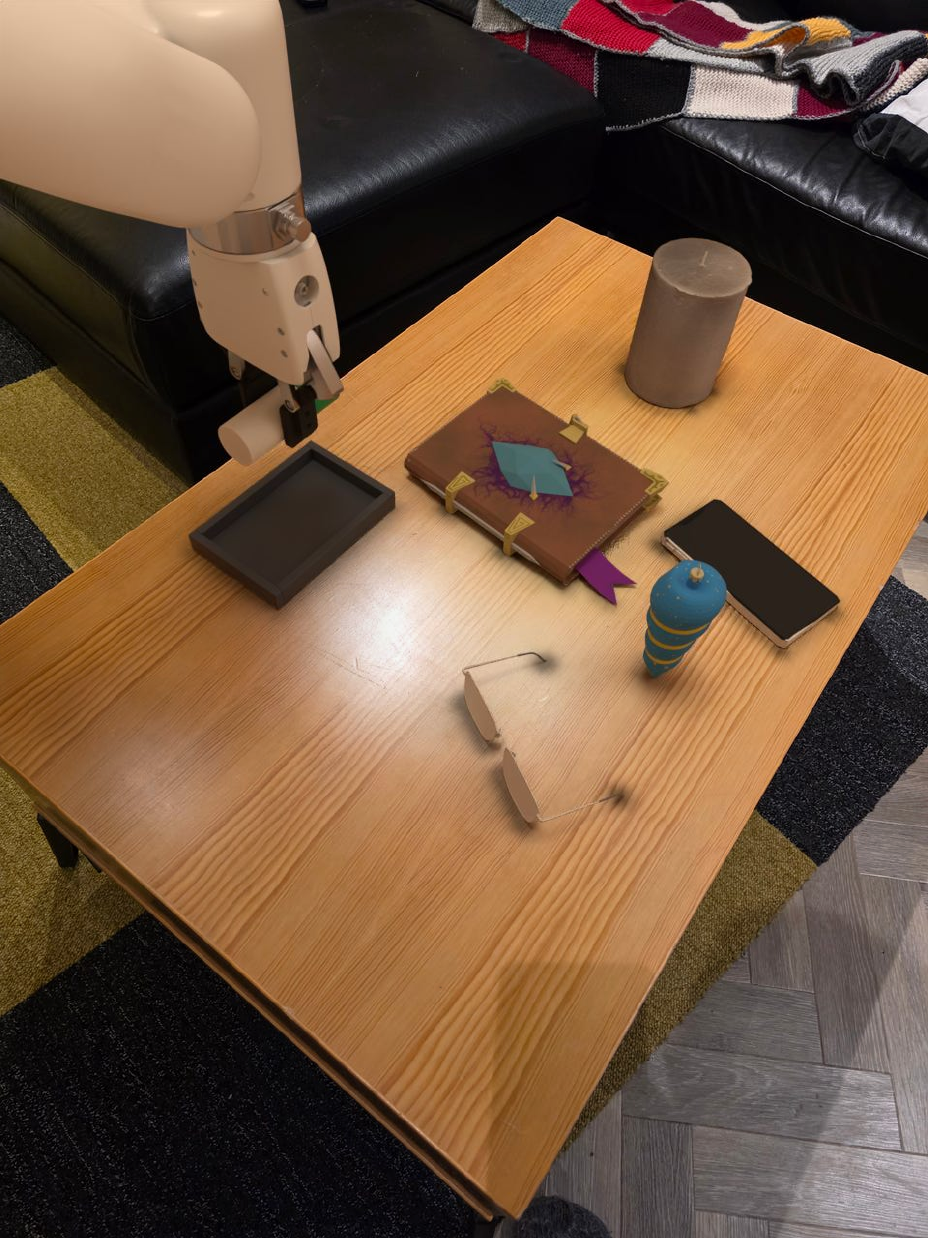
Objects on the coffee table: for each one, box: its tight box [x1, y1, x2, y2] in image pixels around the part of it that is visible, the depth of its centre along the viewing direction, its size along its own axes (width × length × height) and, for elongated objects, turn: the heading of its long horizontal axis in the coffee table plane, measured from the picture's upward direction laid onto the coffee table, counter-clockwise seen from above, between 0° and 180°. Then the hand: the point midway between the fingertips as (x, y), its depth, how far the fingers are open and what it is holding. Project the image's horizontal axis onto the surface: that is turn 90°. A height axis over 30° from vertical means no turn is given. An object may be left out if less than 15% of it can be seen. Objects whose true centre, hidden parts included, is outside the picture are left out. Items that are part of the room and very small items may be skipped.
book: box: [403, 377, 670, 606], centre depth 82 cm, size 16×25×5 cm, turn 47°
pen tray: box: [188, 439, 396, 611], centre depth 80 cm, size 16×11×2 cm
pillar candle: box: [624, 237, 753, 409], centre depth 89 cm, size 10×10×15 cm
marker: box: [217, 384, 341, 467], centre depth 70 cm, size 10×4×4 cm, turn 142°
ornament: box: [642, 560, 727, 679], centre depth 67 cm, size 5×5×15 cm
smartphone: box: [660, 498, 841, 649], centre depth 80 cm, size 8×1×15 cm
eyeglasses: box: [461, 651, 625, 824], centre depth 68 cm, size 14×8×4 cm, turn 24°
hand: (282, 423), depth 70 cm, fingers closed on marker, 3 cm apart
